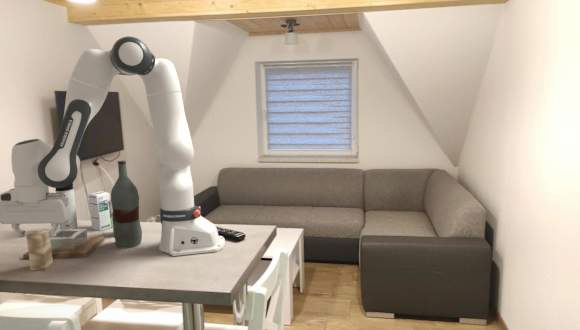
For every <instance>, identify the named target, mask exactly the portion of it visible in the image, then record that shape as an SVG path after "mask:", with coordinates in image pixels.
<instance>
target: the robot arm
mask: <svg viewBox="0 0 580 330" xmlns="http://www.w3.org/2000/svg"><path fill="white" fill-rule="evenodd" d="M70 75H71V76H70V78H69V81H68V84H67V89H66V95H65V102H64V103H65V104H64V111H63V112H64V113H63V116H62V117H63V118H62V122H61V125H60V128H59V131H58V132H57V135H56V138H55V141H54V144H53V145H52V144H49V143H47V142H45V141H43V140H42V139H39V138H32V139H28V140H23V141H19V142H17V143H16V144H14V145H13V146H12V148H11V157H10V159H11V169H12V173H13V176H14V182H13V186H14V187H13V188H10V189H9V190H7V191H3V192H1V193H0V224H1V225H11V228H12V230H14V232H15V233H16V238H17V239H18V238H19V239H20V238H24V237H26V234H25V232H26V231H25V230H22V229H21V227H20V226H21V225H22V224H26V225H28V224H31V225H32V224H36V225H37V224H50V227H51V229H50V230H49V232H48V234H49V235H48V236H49V237H55V236H56V230H58V228H59V227H60V226H59V223H65V222H67V221H68V220H69V219H70V217H71V216H70V210H69V206H68V197H67V196H66V195H65V194H63V193H56V192H50V191H49V190H50V189H49V187H50V188H53V189H56V188H64V187H67V186H69V185H70V184H72V183H73V184H74V182H75V180H76V179H77V176H78V173H79V170H80V168H81V158H80V156H79V155H78V151H79V149H80V146H81V142H82V140H83V136H84V133H85V131H86V129H87V126H88V125H89V123H90V122H91V121H92V119H93V118H95V116H96V115H97V114H98V112H99V111H100V110H101V108H102V106H103V104H104V102H105V101H106V99H107V96H108V93H109V91H110V87H111V85H112V82H113V80H114V78H115V76H117V75H119V76H120V75H121V76H135V75H137V76H139V77H140V78H141V80H142V81H143V84H144V88H145V94H146V99H147V100H146V101H147V104H148V111H149V116H150V122H151V125H152V129H153V133H154V138H155V141H156V144H155V146H154V147H155V160H156V171H157V176H158V177H157V178H158V183H159V184H158V185H159V195H160V208H159V219H160V224H161V232H160V233H161V236H160V241H159V242H160V243H159V245H158V246H159V247H158V249H159V251H161V252H162V253H166V254H168V255H170V256H173V257H176V256H179V257H180V256H185V255H186V256H187V255H188V256H189V255H196V254H204V253H206V254H207V253H216V252H219V251H220V250H222V249H223V248H224V247H225V244H226V239H225V237H224V236H222V235H219V233H218V232H219V231H218V229H217V226H216V224H214V223H213V222H212V221H210V220H208V219H207V218H206V217H203V216H202V213H201V210H202V209H201V206H197V205H196V204H195V196H194V194H195V193H194V182H193V177H192V172H191V166H190V165H192V162H193V161H194V159H195V158H194V157H195V149H194V145H193V140H192V137H191V131H190V129H189V124H188V121H187V117H186V112H185V106H184V101H183V94H182V88H181V84H180V80H179V75H178V73H177V70H176V67H175V65H174V63H173V62H172V61H170V60H169V59H167V58H163V57H158V58H157V57H156V56H155V55H154V53H153V52H152V51H151V50H150V49H149V47H148V46H147V44H145V43H144V42H143V41H142V40H141V39H139V38H137V37H134V36H123V37H119V39H117V40H116V41H115V42H114V44H113V45H112V48H111V49H110V50H107V51H104V50H102V49H98V48H88V49H85V50H83V52H82V53H81V55H80V57H79V58H78V59H77V62H76V63H75V66H74V67H73V71H72V72H71V74H70ZM63 195H64V196H63Z"/></svg>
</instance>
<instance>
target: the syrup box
mask: <svg viewBox="0 0 580 330" xmlns="http://www.w3.org/2000/svg"><path fill="white" fill-rule="evenodd" d="M87 198H88V205H89V212H90V213H89V214H90V223H91V229H92V230H95V231H99V232H100V231H104V230H107V229H111V228H113V221H112V204H111V193H110V192H108V191H106V190H105V191H104V190H103V191H97V192H93V193H88V194H87Z"/></svg>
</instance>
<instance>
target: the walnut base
mask: <svg viewBox="0 0 580 330" xmlns="http://www.w3.org/2000/svg"><path fill="white" fill-rule="evenodd" d="M87 237H88V240H86V241H85V242H84V243H83V244H81V245H80V246H79V247H78V248H76V249H75V250H60V251H52V258H53V259H60V258H61V259H62V258H64V259H65V258H86V257H87V256H88V255H90V254H91V253H92V252H93V251H94V250H95V249H97V247H99V246H100V245H101V244H102V243H103V242H105V236H103V235H102V236H101V235H99V236H87ZM22 257H23V260H29V252H28V251H27V252H25V253H24V254H23V255H22Z"/></svg>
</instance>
